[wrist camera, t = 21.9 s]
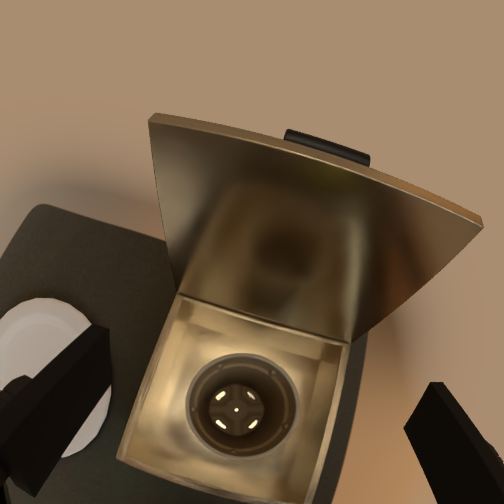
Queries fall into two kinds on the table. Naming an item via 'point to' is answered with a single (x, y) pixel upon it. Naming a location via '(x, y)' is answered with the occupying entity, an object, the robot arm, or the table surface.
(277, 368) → the flower pot
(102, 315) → the table surface
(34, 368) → the plate
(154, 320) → the table surface
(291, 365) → the bronze square open box
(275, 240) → the lid
